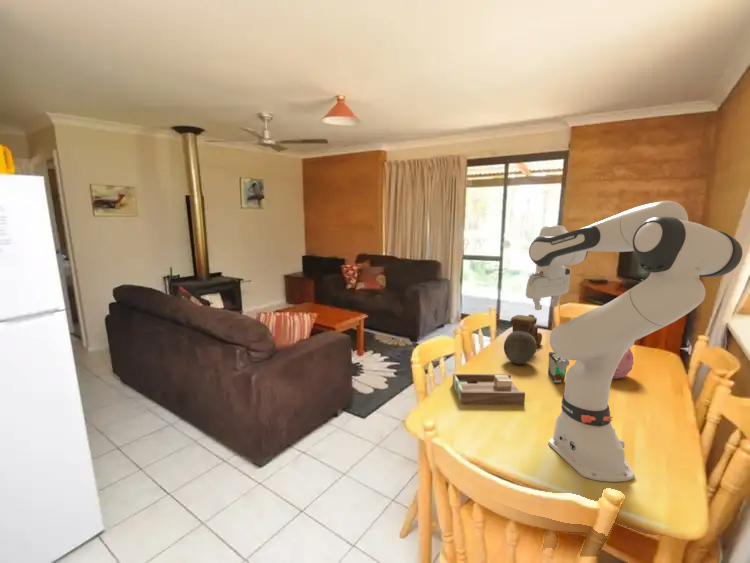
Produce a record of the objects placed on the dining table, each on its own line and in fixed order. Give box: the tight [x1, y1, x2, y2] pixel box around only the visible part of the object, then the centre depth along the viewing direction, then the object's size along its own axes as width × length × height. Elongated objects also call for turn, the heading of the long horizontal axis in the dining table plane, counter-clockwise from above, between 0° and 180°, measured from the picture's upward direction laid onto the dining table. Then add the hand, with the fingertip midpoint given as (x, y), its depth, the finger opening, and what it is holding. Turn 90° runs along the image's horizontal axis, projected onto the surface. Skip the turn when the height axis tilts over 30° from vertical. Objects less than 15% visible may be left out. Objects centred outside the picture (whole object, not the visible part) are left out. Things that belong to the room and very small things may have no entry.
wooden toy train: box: [510, 314, 543, 346], centre depth 191 cm, size 20×11×17 cm, turn 137°
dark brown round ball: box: [503, 331, 538, 365], centre depth 169 cm, size 14×14×15 cm
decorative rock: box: [612, 348, 634, 379], centre depth 156 cm, size 19×14×15 cm
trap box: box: [452, 373, 526, 405], centre depth 140 cm, size 16×23×4 cm
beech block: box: [494, 375, 513, 391], centre depth 139 cm, size 5×5×4 cm
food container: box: [547, 351, 570, 385], centre depth 151 cm, size 12×6×10 cm, turn 168°
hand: (546, 308), depth 133 cm, fingers open, 8 cm apart
